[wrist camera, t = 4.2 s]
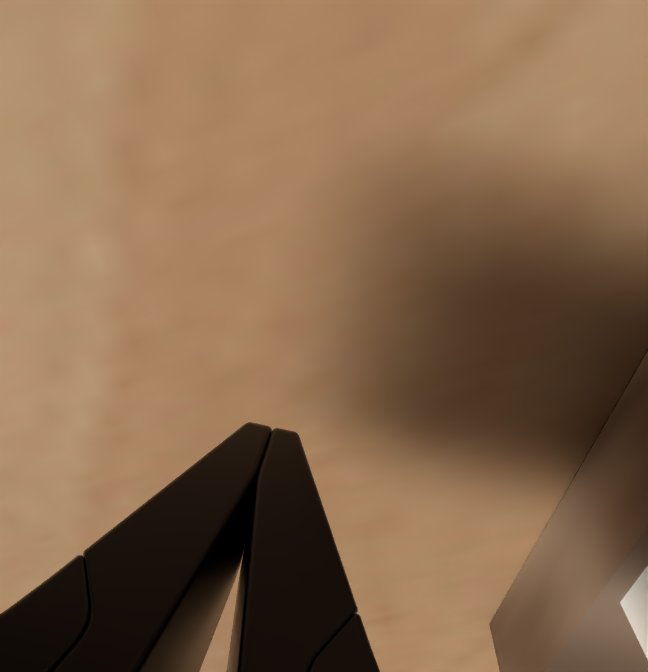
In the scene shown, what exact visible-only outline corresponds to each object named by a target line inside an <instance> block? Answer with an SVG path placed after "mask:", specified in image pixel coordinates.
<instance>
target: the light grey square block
mask: <svg viewBox="0 0 648 672" xmlns="http://www.w3.org/2000/svg"><path fill="white" fill-rule="evenodd" d="M620 604H621V606H622V608H623V610H624V612H625V614H626V616H627V618H628V620H629V622H630V624H631V627H632V629H633V631H634V633H635V635H636V637H637V639H638V641H639V643H640V645H641V647H642V649H643V651H644V653H645V655H646V657H647V659H648V566H647V567H646V568H645V570H644V571H643V572H642V574H641V575H640V576H639V578H638V579H637V580H636V582H635V583H634V584H633V586H632V587H631V588H630V590H629V591H628V592H627V594H626V595H625V596H624V598H623V599H622V600H621V602H620Z"/></svg>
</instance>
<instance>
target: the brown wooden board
mask: <svg viewBox="0 0 648 672" xmlns="http://www.w3.org/2000/svg"><path fill="white" fill-rule="evenodd" d="M647 566H648V351H647V353H646V355H645V356H644V358H643V360H642V362H641V363H640V365H639V367H638V369H637V370H636V372H635V374H634V375H633V377H632V379H631V381H630V382H629V384H628V386H627V388H626V389H625V391H624V393H623V394H622V396H621V398H620V400H619V401H618V403H617V405H616V407H615V408H614V410H613V412H612V413H611V415H610V417H609V419H608V420H607V422H606V424H605V426H604V427H603V429H602V431H601V432H600V434H599V436H598V438H597V439H596V441H595V443H594V445H593V446H592V448H591V450H590V451H589V453H588V455H587V457H586V458H585V460H584V462H583V464H582V465H581V467H580V469H579V470H578V472H577V474H576V476H575V477H574V479H573V481H572V483H571V484H570V486H569V488H568V489H567V491H566V493H565V495H564V496H563V498H562V500H561V502H560V503H559V505H558V507H557V508H556V510H555V512H554V514H553V515H552V517H551V519H550V521H549V522H548V524H547V526H546V527H545V529H544V531H543V533H542V534H541V536H540V538H539V540H538V541H537V543H536V545H535V546H534V548H533V550H532V552H531V553H530V555H529V557H528V559H527V560H526V562H525V564H524V565H523V567H522V569H521V571H520V572H519V574H518V576H517V578H516V579H515V581H514V583H513V584H512V586H511V588H510V590H509V591H508V593H507V595H506V597H505V598H504V600H503V602H502V603H501V605H500V607H499V609H498V610H497V612H496V614H495V616H494V617H493V619H492V621H491V622H490V629H491V633H492V638H493V642H494V647H495V652H496V656H497V661H498V665H499V670H500V672H648V659H647V657H646V655H645V653H644V651H643V649H642V647H641V645H640V643H639V641H638V639H637V637H636V635H635V633H634V631H633V629H632V627H631V624H630V622H629V620H628V618H627V616H626V614H625V612H624V610H623V608H622V606H621V604H620V602H621V600H622V599H623V598H624V596H625V595H626V594H627V592H628V591H629V590H630V588H631V587H632V586H633V584H634V583H635V582H636V580H637V579H638V578H639V576H640V575H641V574H642V572H643V571H644V570H645V568H646V567H647Z"/></svg>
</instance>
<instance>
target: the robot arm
mask: <svg viewBox="0 0 648 672" xmlns="http://www.w3.org/2000/svg"><path fill="white" fill-rule="evenodd" d="M242 557H243V559H242ZM241 560H242V565H241V571H240V577H239V583H238V591H237V598H236V606H235V613H234V621H233V628H232V636H231V643H230V651H229V658H228V666H227V672H380V670H379V668H378V665H377V662H376V659H375V657H374V654H373V651H372V649H371V646H370V643H369V640H368V637H367V634H366V631H365V629H364V626H363V623H362V620H361V617H360V615H358V614H357V612H358V609H357V606H356V603H355V600H354V597H353V594H352V591H351V588H350V585H349V582H348V579H347V576H346V573H345V570H344V567H343V564H342V561H341V558H340V556H339V553H338V550H337V547H336V544H335V541H334V538H333V535H332V532H331V529H330V526H329V523H328V520H327V517H326V514H325V511H324V508H323V505H322V502H321V499H320V496H319V493H318V491H317V488H316V485H315V482H314V479H313V476H312V473H311V470H310V467H309V464H308V461H307V458H306V455H305V452H304V449H303V446H302V443H301V440H300V437H299V435H298V434H297V433H296V432H293V431H289V430H284V429H279V428H275V429H274V430H273V431H272V429H271V428H270V427H269V426H265V425H261V424H256V423H252V422H249V423H246V424H245V425H243V426H242V427H241V428H240V429H238V430H237V431H236V432H234V433H233V434H232V435H231V436H229V437H228V438H227V439H226V440H224V441H223V442H222V443H221V444H219V445H218V446H217V447H215V448H214V449H213V450H212V451H210V452H209V453H208V454H207V455H205V456H204V457H203V458H202V459H200V460H199V461H198V462H196V463H195V464H194V465H193V466H191V467H190V468H189V469H188V470H186V471H185V472H184V473H182V474H181V475H180V476H179V477H177V478H176V479H175V480H174V481H172V482H171V483H170V484H169V485H167V486H166V487H165V488H163V489H162V490H161V491H160V492H158V493H157V494H156V495H155V496H153V497H152V498H151V499H150V500H148V501H147V502H146V503H144V504H143V505H142V506H141V507H139V508H138V509H137V510H136V511H134V512H133V513H132V514H130V515H129V516H128V517H127V518H125V519H124V520H123V521H122V522H120V523H119V524H118V525H117V526H115V527H114V528H113V529H111V530H110V531H109V532H108V533H106V534H105V535H104V536H103V537H101V538H100V539H99V540H98V541H96V542H95V543H94V544H92V545H91V546H90V547H89V548H87V549H86V550H85V551H84V553H83V556H82V555H78V556H77V557H75V558H74V559H73V560H72V561H70V562H69V563H68V564H67V565H65V566H64V567H63V568H62V569H60V570H59V571H58V572H56V573H55V574H54V575H53V576H51V577H50V578H49V579H47V580H46V581H45V582H43V583H42V584H41V585H39V586H38V587H37V588H35V589H34V590H33V591H31V592H30V593H29V594H27V595H26V596H25V597H23V598H22V599H21V600H19V601H18V602H17V603H15V604H14V605H13V606H11V607H10V608H9V609H7V610H6V611H4V612H3V613H1V614H0V672H199V671H200V668H201V666H202V663H203V660H204V658H205V655H206V653H207V650H208V648H209V645H210V643H211V640H212V637H213V635H214V632H215V630H216V627H217V625H218V622H219V619H220V617H221V614H222V612H223V609H224V607H225V604H226V601H227V599H228V596H229V594H230V591H231V589H232V586H233V584H234V581H235V578H236V575H237V573H238V570H239V567H240V564H241Z"/></svg>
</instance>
